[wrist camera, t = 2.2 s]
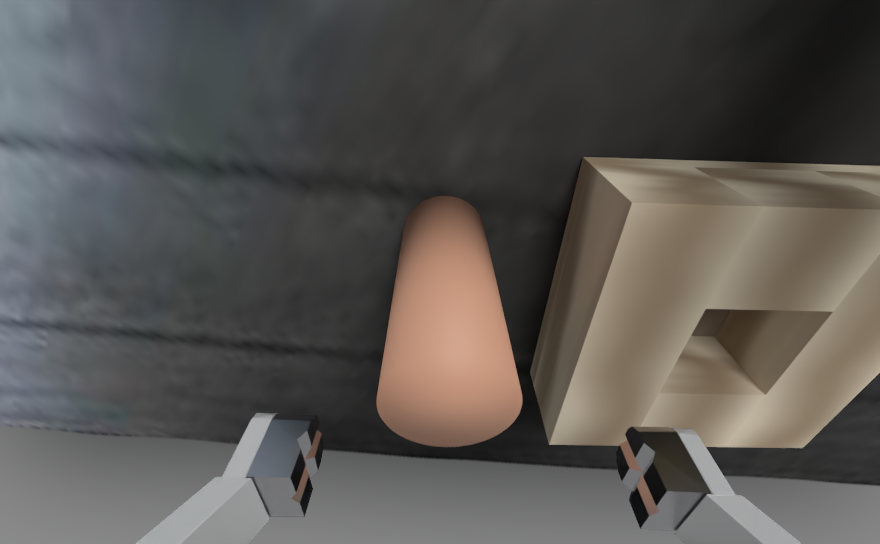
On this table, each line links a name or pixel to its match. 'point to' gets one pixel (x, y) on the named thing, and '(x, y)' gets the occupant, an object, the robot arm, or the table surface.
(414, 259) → the dowel
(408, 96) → the table surface
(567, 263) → the socket block
